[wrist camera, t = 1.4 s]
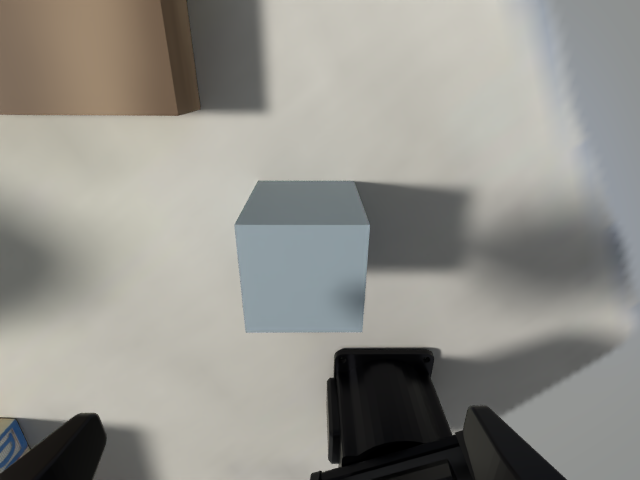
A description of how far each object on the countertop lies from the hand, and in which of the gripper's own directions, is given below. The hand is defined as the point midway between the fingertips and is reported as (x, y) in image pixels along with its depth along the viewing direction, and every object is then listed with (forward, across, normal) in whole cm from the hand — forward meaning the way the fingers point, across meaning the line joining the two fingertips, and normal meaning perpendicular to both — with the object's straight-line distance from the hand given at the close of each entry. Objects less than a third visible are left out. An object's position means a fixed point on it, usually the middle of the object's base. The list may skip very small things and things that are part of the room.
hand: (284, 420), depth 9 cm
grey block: (+12, 0, 0) cm, 12 cm away
